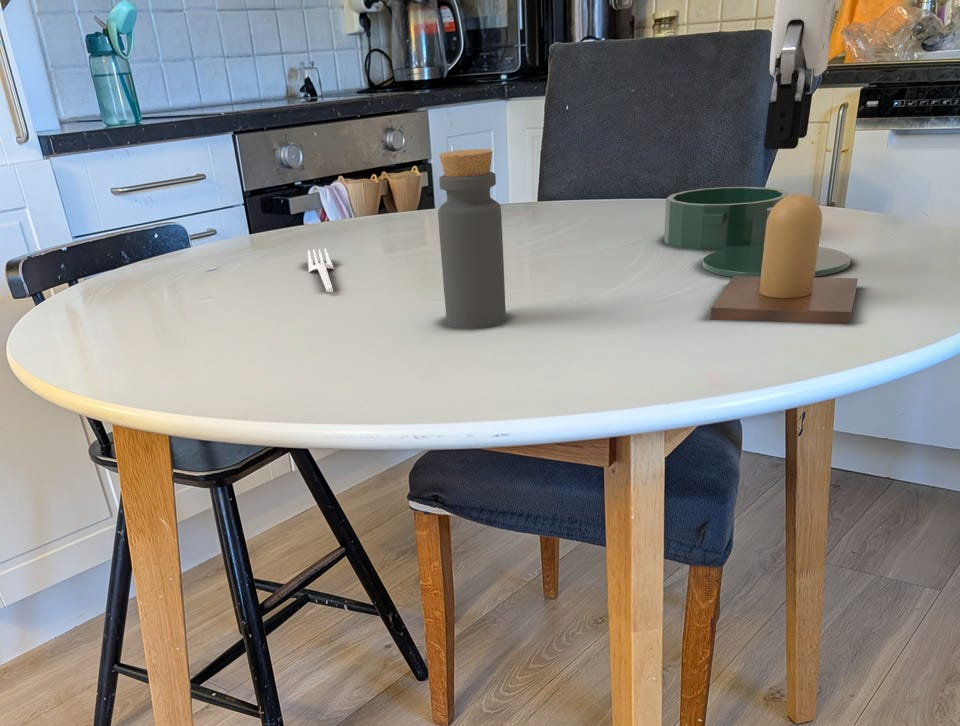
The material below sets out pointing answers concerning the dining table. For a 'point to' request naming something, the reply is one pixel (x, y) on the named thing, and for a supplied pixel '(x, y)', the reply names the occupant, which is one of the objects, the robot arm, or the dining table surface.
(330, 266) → the fork
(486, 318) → the bottle
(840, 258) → the lid
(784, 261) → the tan domed cylinder
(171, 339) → the dining table surface
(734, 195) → the pot
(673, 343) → the dining table surface
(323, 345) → the dining table surface
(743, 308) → the board
